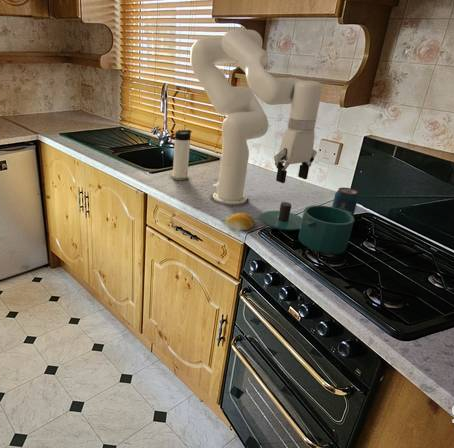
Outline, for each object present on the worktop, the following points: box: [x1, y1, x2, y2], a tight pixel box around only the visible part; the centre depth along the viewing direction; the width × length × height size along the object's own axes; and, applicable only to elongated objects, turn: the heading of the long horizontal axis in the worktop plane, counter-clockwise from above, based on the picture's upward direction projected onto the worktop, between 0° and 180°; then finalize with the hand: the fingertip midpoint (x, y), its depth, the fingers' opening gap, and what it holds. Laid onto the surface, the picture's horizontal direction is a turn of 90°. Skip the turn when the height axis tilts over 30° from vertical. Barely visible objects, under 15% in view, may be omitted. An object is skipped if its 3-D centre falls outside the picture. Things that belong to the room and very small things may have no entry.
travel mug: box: [171, 129, 193, 181], centre depth 166 cm, size 6×7×20 cm
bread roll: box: [225, 212, 255, 231], centre depth 129 cm, size 8×9×4 cm
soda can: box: [331, 187, 359, 217], centre depth 132 cm, size 7×7×12 cm
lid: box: [259, 201, 303, 232], centre depth 132 cm, size 15×15×7 cm
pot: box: [298, 205, 355, 256], centre depth 119 cm, size 14×19×10 cm
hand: (291, 180), depth 127 cm, fingers open, 9 cm apart
